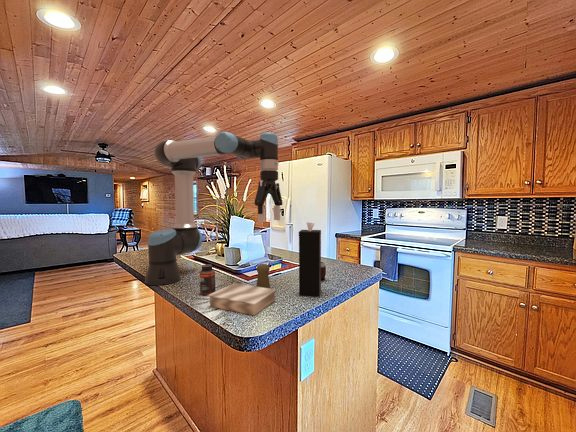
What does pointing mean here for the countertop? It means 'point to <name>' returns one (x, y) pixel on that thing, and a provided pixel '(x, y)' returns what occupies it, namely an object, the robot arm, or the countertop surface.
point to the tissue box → (310, 261)
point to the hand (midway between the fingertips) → (269, 221)
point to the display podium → (242, 298)
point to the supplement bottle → (207, 280)
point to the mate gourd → (323, 271)
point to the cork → (263, 276)
